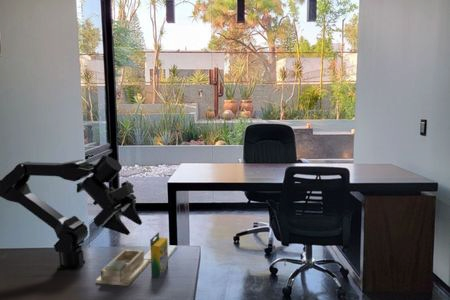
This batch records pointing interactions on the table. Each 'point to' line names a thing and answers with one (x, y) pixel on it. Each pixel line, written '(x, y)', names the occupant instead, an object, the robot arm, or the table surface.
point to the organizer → (123, 268)
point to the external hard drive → (170, 252)
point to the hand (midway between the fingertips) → (135, 229)
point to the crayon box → (158, 256)
